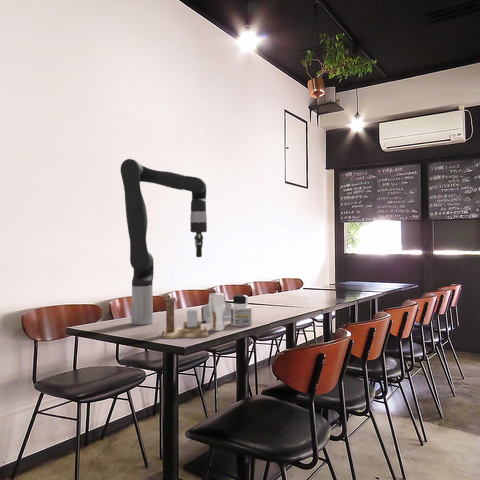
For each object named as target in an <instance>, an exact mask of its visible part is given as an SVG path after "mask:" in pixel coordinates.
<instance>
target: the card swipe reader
mask: <svg viewBox="0 0 480 480" xmlns="http://www.w3.org/2000/svg"><path fill="white" fill-rule="evenodd" d="M225 302H226V301H225ZM231 306H233V304H232V303H230V302H226V306H225V314H224V322H229V321H230V322H231V311H230V307H231ZM200 311H201V312H200V316H201V317H200V318H201V323H206V324H211V316H210V311H209V303H207V304H205V305H202V307H201V308H200Z"/></svg>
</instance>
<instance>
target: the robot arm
mask: <svg viewBox="0 0 480 480" xmlns="http://www.w3.org/2000/svg"><path fill="white" fill-rule="evenodd" d="M119 171H120V174H121V175H120V177H121V180H122V184H123V191H124V205H125V206H124V207H125V215H126V225H127V232H128V237H129V249H130V250H129V261H130V266H131V267H132V268H133V277H132V280H131V308H130V311H131V314H130V315H131V316H130V317H131V325H134V326H137V325H138V326H142V325H143V326H145V325H152V324H153V323H154V322H153V321H154V317H153V316H154V315H153V313H154V312H153V311H154V310H153V309H154V308H153V303H154V302H153V298H154V297H153V292H154V291H153V290H154V289H153V282H154V281H153V279H154V266H155V265H154V264H155V263H154V257H153V255H152V254H151V253H150V252H149V251H148V246H147V244H148V243H147V234H148V233H147V232H148V213H147V212H148V211H147V207H146V203H145V200H144V197H143V193H142V190H141V183H142V182H143V183H151V184H155V185H160V186H163V187H167V188H169V189H175V190H177V191H178V190H179V191H188V192H191V202H190V218H189V219H190V231H189V232H191V233H195V236H194V239H193V240H194V246H195V249H196V250H195V255H196V258H202V257H203V255H202V254H203V253H202V251H203V245H204V236H203V234H202V233H207V232H208V229H207V228H208V225H207V223H208V222H207V221H208V218H207V201H206V199H207V184H206V183H205V181H204V180H203V179H202V178H200V177H196V176H189V175H184V174H179V173H175V172H172V171H165V170H164V171H163V170H156V169H152V168H149V167H146V166H144V165H142V164H140V163H139V162H138V161H136V160H135V159H132V158H127V159H125V160H123V162H122V163H121V164H120V170H119Z"/></svg>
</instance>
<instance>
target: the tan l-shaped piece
mask: <svg viewBox="0 0 480 480" xmlns="http://www.w3.org/2000/svg"><path fill="white" fill-rule="evenodd" d="M176 301H177V300H176V297H165V298H164V302H165V310H166V311H165V318H166V319H165V320H166V321H165V322H166V327H165V328H164V331H163V334H162V338H163V339H178V338H179V339H181V338H182V339H183V338H184V339H186V338H204V337H205V338H207V337H209V332H208V330H207V329H208V328H207V326H202V325H201V321H200V320H197V329H187V320H186V321H183V322H182V323H183V325H182V326H183V327H175V303H176Z"/></svg>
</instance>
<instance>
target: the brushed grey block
mask: <svg viewBox="0 0 480 480" xmlns="http://www.w3.org/2000/svg"><path fill="white" fill-rule="evenodd" d="M186 318H187V319H186V321H187V329H197V321H198V310H197V309H187V310H186Z"/></svg>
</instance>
